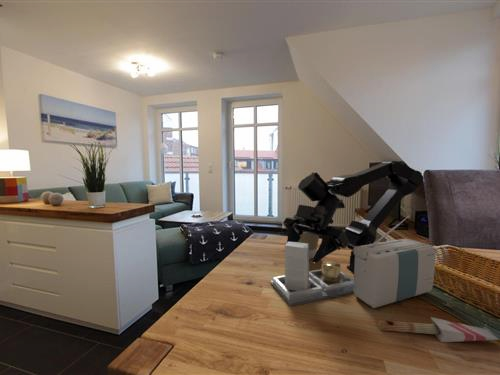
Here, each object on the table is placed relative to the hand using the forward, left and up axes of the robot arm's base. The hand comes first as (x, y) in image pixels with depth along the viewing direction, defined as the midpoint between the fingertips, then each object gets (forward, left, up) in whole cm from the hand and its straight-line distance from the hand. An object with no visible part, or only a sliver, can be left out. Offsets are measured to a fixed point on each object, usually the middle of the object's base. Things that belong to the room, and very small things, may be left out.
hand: (299, 257), depth 64 cm
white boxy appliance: (-21, +10, -9) cm, 26 cm away
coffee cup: (-15, -21, -9) cm, 27 cm away
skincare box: (+1, 0, -9) cm, 9 cm away
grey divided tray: (-5, 0, -9) cm, 10 cm away
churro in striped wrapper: (-16, +24, -10) cm, 31 cm away
